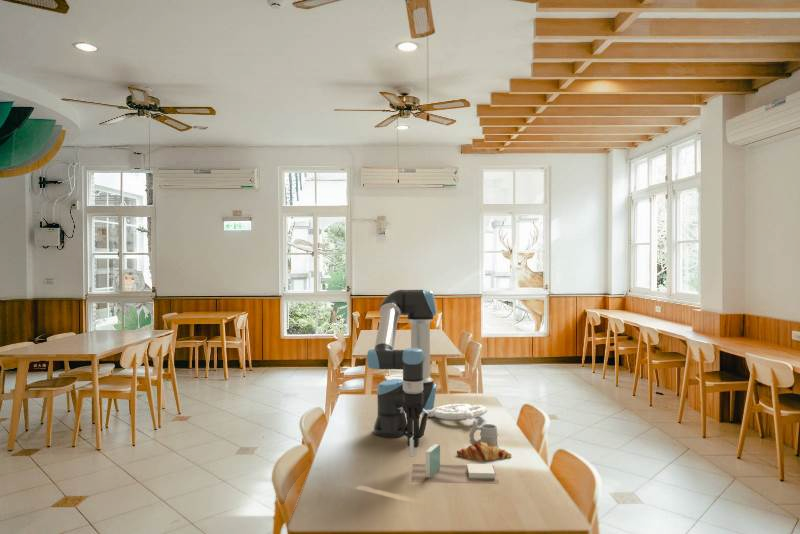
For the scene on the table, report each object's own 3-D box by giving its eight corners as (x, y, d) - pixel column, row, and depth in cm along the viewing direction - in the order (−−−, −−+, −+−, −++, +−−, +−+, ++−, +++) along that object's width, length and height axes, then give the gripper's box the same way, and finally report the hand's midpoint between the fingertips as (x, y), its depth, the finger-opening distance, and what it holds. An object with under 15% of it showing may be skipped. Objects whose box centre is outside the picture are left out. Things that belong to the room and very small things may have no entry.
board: (412, 467, 185) (412, 464, 185) (493, 468, 184) (493, 465, 184) (411, 485, 170) (411, 481, 170) (499, 487, 169) (499, 483, 169)
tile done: (467, 469, 181) (467, 463, 181) (491, 469, 180) (491, 464, 180) (468, 478, 173) (468, 472, 173) (494, 479, 172) (494, 473, 172)
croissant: (510, 465, 195) (508, 444, 199) (514, 463, 186) (512, 440, 190) (456, 463, 196) (455, 442, 200) (457, 460, 187) (457, 438, 191)
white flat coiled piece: (421, 421, 244) (420, 408, 245) (450, 412, 262) (449, 400, 263) (468, 425, 226) (467, 411, 227) (495, 415, 243) (494, 402, 244)
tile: (435, 468, 182) (434, 443, 181) (440, 469, 181) (439, 444, 181) (425, 476, 174) (425, 451, 174) (430, 477, 174) (430, 452, 173)
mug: (499, 454, 198) (499, 424, 198) (469, 453, 199) (469, 423, 199) (497, 447, 205) (497, 418, 205) (469, 446, 207) (468, 417, 207)
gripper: (392, 391, 181) (392, 455, 181) (424, 395, 175) (424, 462, 175) (402, 387, 188) (402, 449, 188) (433, 391, 181) (433, 455, 181)
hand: (413, 455), depth 181 cm, fingers closed
